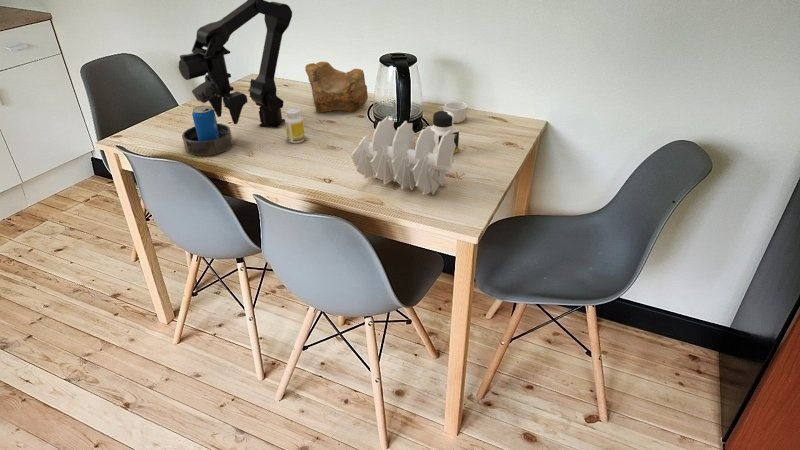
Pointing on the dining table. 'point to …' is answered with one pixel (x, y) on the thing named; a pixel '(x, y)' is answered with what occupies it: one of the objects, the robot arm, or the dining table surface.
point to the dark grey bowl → (207, 146)
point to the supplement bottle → (294, 126)
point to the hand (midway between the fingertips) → (227, 120)
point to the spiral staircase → (405, 156)
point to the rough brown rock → (336, 87)
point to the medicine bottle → (444, 127)
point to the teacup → (456, 110)
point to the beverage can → (205, 123)
